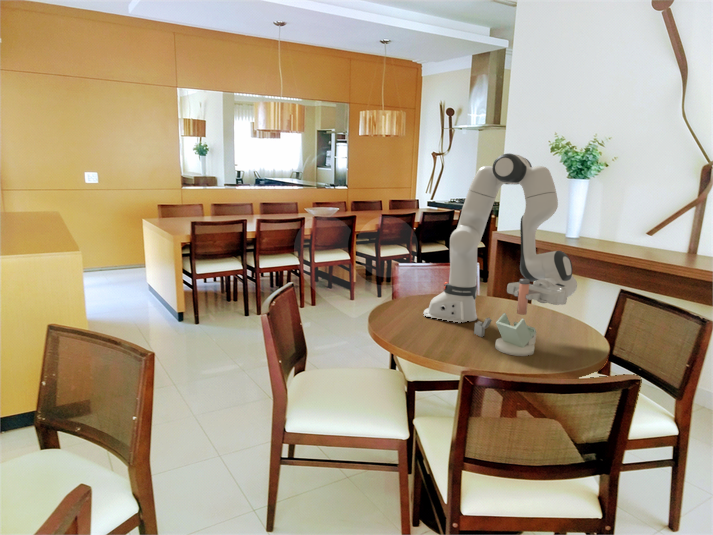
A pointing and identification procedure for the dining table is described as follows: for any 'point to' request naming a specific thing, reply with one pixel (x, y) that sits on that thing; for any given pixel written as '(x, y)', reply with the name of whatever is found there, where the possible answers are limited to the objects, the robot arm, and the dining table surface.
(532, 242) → the robot arm
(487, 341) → the dining table surface
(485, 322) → the lighter
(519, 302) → the marker
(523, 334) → the green holder stand
